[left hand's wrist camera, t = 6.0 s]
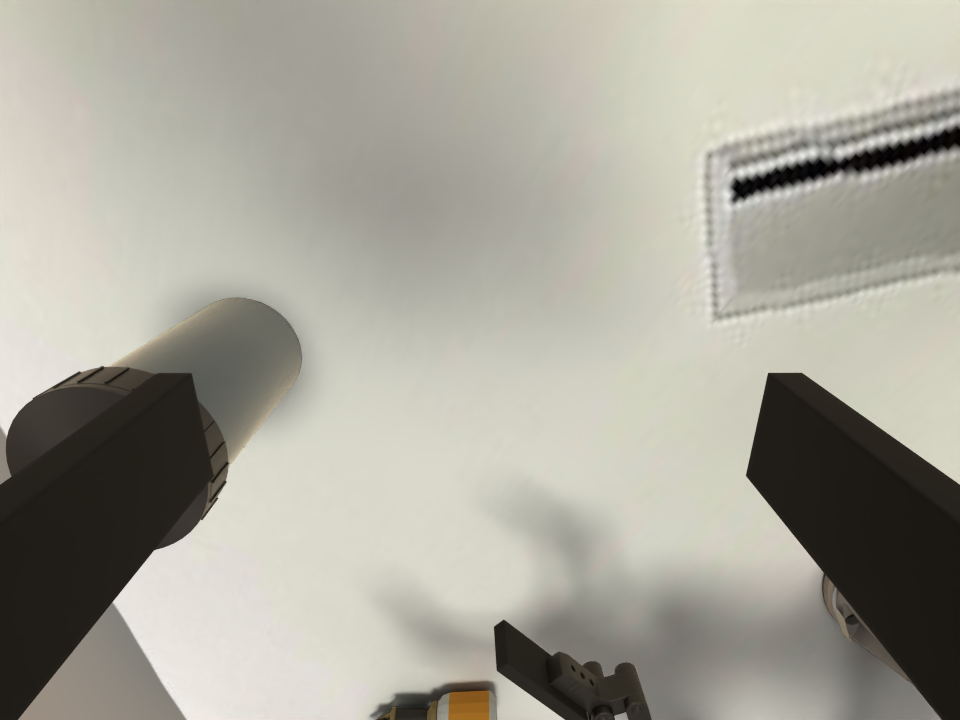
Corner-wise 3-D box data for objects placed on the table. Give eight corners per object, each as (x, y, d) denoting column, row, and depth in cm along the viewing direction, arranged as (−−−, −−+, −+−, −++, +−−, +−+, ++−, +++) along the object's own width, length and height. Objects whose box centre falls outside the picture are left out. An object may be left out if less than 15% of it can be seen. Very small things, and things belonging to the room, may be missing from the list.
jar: (236, 417, 42) (109, 561, 28) (166, 329, 40) (-16, 439, 25) (323, 371, 41) (237, 499, 26) (256, 277, 38) (119, 361, 24)
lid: (130, 547, 30) (103, 578, 28) (2, 416, 27) (-40, 440, 25) (266, 480, 28) (248, 508, 26) (145, 332, 25) (114, 350, 23)
